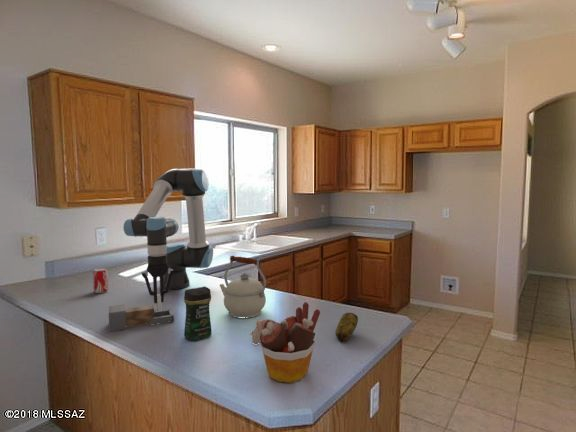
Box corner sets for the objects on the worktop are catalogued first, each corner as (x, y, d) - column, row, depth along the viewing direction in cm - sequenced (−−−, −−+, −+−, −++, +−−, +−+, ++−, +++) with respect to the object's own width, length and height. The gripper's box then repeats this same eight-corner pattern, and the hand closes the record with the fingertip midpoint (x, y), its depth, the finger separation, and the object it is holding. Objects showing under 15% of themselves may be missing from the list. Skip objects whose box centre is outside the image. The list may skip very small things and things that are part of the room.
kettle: (277, 311, 167) (276, 256, 165) (252, 324, 152) (252, 264, 149) (232, 302, 180) (232, 250, 178) (206, 313, 164) (205, 257, 162)
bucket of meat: (285, 398, 100) (285, 325, 98) (245, 376, 112) (244, 311, 110) (330, 370, 115) (331, 307, 113) (291, 353, 126) (291, 295, 124)
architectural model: (249, 344, 134) (248, 324, 134) (261, 337, 140) (261, 318, 139) (256, 346, 132) (256, 326, 132) (268, 339, 138) (268, 320, 137)
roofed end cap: (125, 321, 155) (124, 304, 154) (126, 328, 147) (125, 310, 147) (109, 323, 153) (108, 306, 152) (109, 331, 145) (108, 313, 144)
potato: (326, 338, 139) (326, 317, 138) (347, 328, 148) (347, 308, 147) (344, 345, 133) (344, 323, 132) (365, 334, 142) (365, 314, 141)
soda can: (102, 294, 192) (101, 271, 191) (90, 293, 194) (89, 270, 193) (111, 290, 199) (110, 268, 198) (99, 289, 201) (98, 267, 199)
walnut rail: (153, 319, 158) (153, 305, 158) (154, 322, 154) (154, 308, 154) (117, 324, 152) (116, 310, 152) (117, 328, 148) (116, 313, 148)
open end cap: (170, 314, 163) (170, 309, 163) (173, 321, 155) (173, 315, 155) (148, 317, 159) (148, 312, 159) (150, 325, 151) (150, 319, 151)
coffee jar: (190, 343, 134) (188, 292, 132) (181, 336, 140) (180, 287, 138) (215, 337, 140) (214, 288, 138) (205, 330, 146) (204, 283, 144)
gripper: (172, 251, 160) (174, 305, 162) (139, 254, 155) (141, 309, 157) (175, 254, 153) (176, 310, 156) (140, 257, 148) (143, 315, 150)
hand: (159, 310), depth 156 cm, fingers closed
